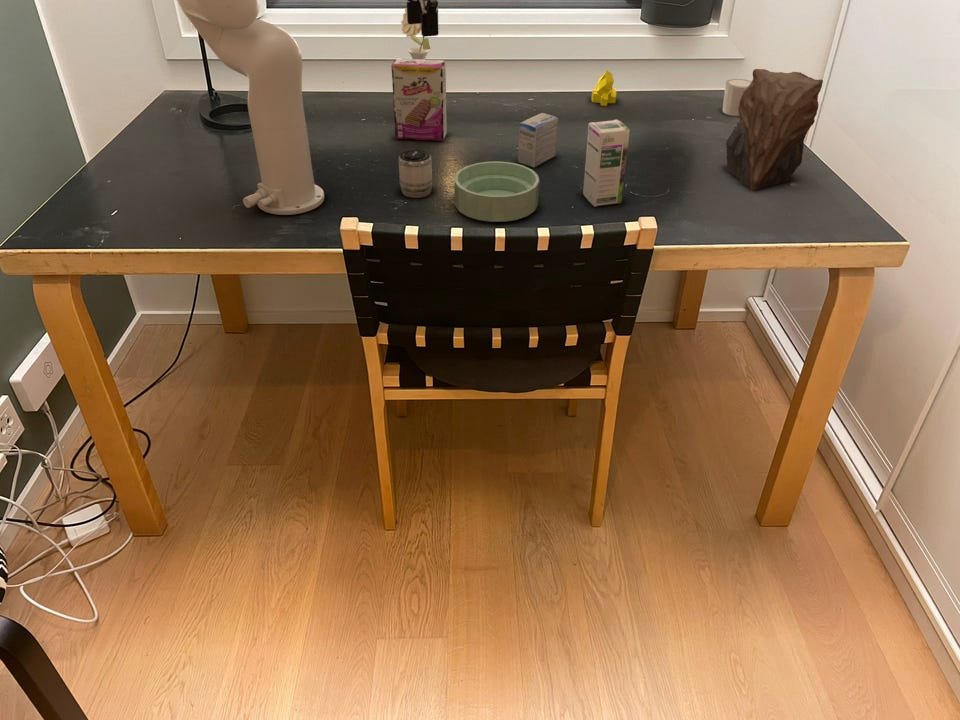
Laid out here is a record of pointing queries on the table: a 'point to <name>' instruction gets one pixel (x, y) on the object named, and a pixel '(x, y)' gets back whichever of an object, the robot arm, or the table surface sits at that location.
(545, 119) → the medicine box
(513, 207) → the bowl
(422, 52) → the flower in vase
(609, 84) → the yellow crystal cluster
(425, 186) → the camera lens
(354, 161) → the table surface
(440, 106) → the candy bar box
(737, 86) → the white cylinder
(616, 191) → the syrup box
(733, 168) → the owl
